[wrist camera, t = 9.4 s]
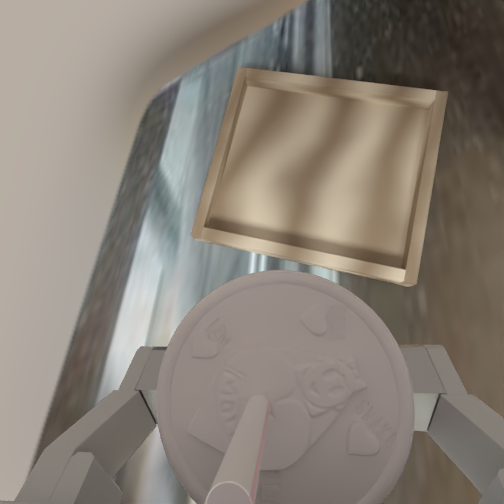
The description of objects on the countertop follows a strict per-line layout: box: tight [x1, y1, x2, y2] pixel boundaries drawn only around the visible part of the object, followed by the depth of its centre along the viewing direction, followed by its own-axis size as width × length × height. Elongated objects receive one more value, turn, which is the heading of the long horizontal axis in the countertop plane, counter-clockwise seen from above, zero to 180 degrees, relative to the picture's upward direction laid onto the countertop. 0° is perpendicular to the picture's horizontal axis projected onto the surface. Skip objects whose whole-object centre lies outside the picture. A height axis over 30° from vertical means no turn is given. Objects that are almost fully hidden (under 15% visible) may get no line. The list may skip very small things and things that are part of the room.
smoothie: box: [156, 270, 415, 504], centre depth 11 cm, size 6×6×14 cm
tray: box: [191, 67, 448, 287], centre depth 31 cm, size 20×18×2 cm
